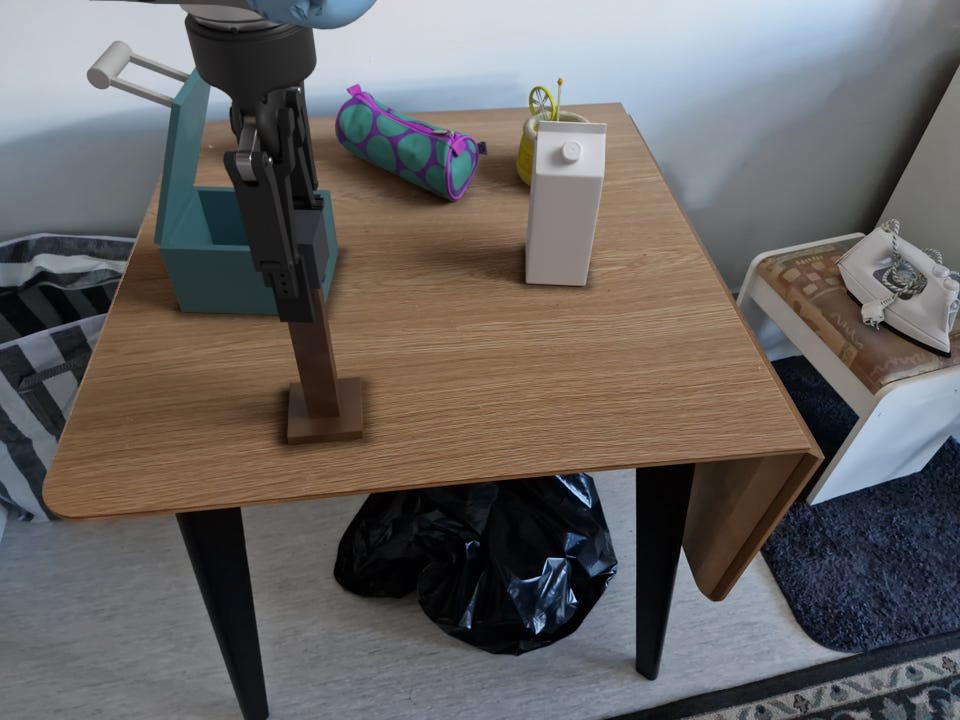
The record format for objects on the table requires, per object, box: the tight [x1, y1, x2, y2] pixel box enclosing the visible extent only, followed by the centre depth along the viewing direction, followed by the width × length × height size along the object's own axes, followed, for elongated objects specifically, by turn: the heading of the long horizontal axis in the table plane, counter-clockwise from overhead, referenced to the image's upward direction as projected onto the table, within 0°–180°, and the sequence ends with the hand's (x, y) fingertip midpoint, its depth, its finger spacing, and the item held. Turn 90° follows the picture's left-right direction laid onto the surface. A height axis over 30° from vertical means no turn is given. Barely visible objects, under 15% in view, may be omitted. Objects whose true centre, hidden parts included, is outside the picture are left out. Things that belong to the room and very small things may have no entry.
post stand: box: [286, 286, 364, 446], centre depth 65 cm, size 7×7×18 cm
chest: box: [158, 185, 340, 316], centre depth 82 cm, size 16×12×9 cm
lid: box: [86, 40, 212, 246], centre depth 72 cm, size 17×12×9 cm
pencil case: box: [334, 83, 488, 202], centre depth 99 cm, size 21×9×10 cm, turn 54°
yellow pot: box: [516, 77, 591, 187], centre depth 99 cm, size 13×11×12 cm
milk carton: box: [525, 121, 608, 287], centre depth 82 cm, size 7×7×19 cm
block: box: [262, 210, 329, 289], centre depth 57 cm, size 4×4×4 cm
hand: (303, 298), depth 61 cm, fingers closed on block, 4 cm apart
